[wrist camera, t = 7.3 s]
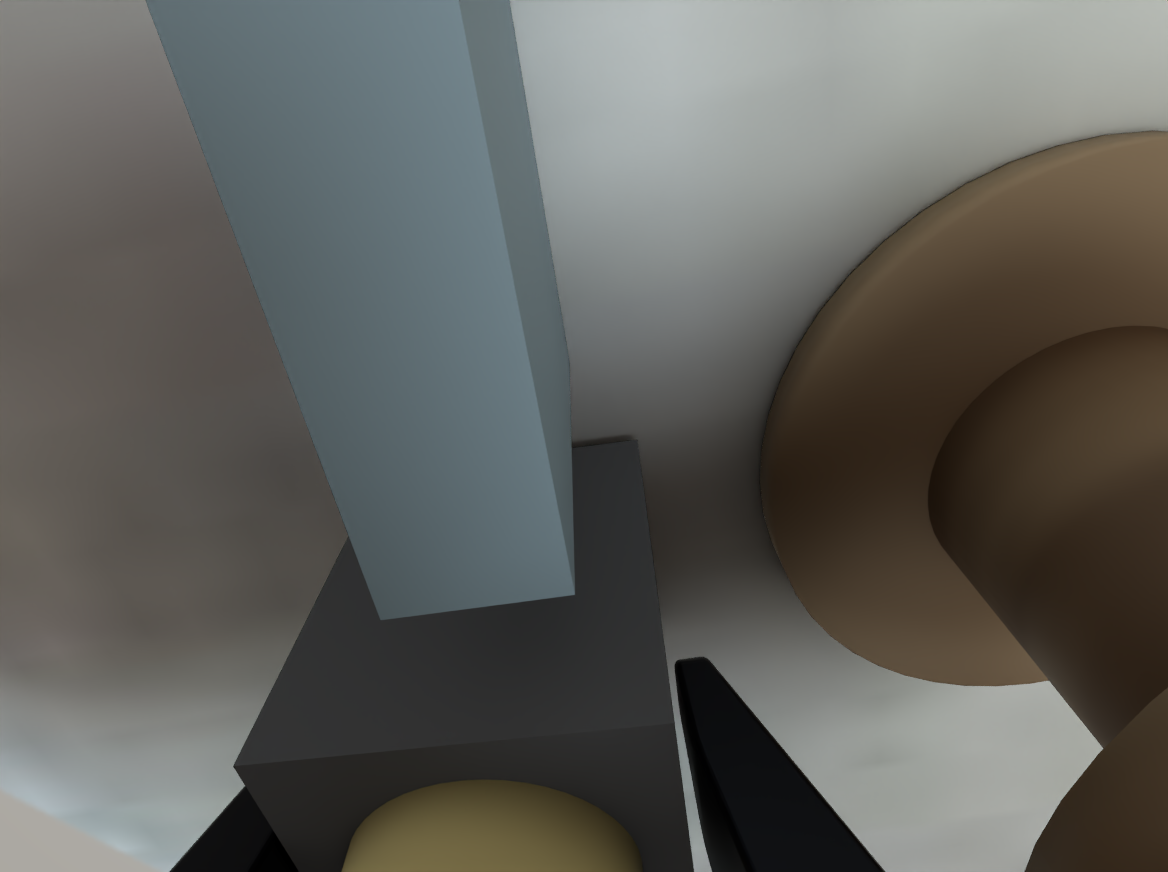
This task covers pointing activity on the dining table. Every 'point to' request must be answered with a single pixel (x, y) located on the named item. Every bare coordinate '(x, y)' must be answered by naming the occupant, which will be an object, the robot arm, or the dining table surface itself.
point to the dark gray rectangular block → (485, 718)
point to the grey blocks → (399, 276)
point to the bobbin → (1003, 465)
